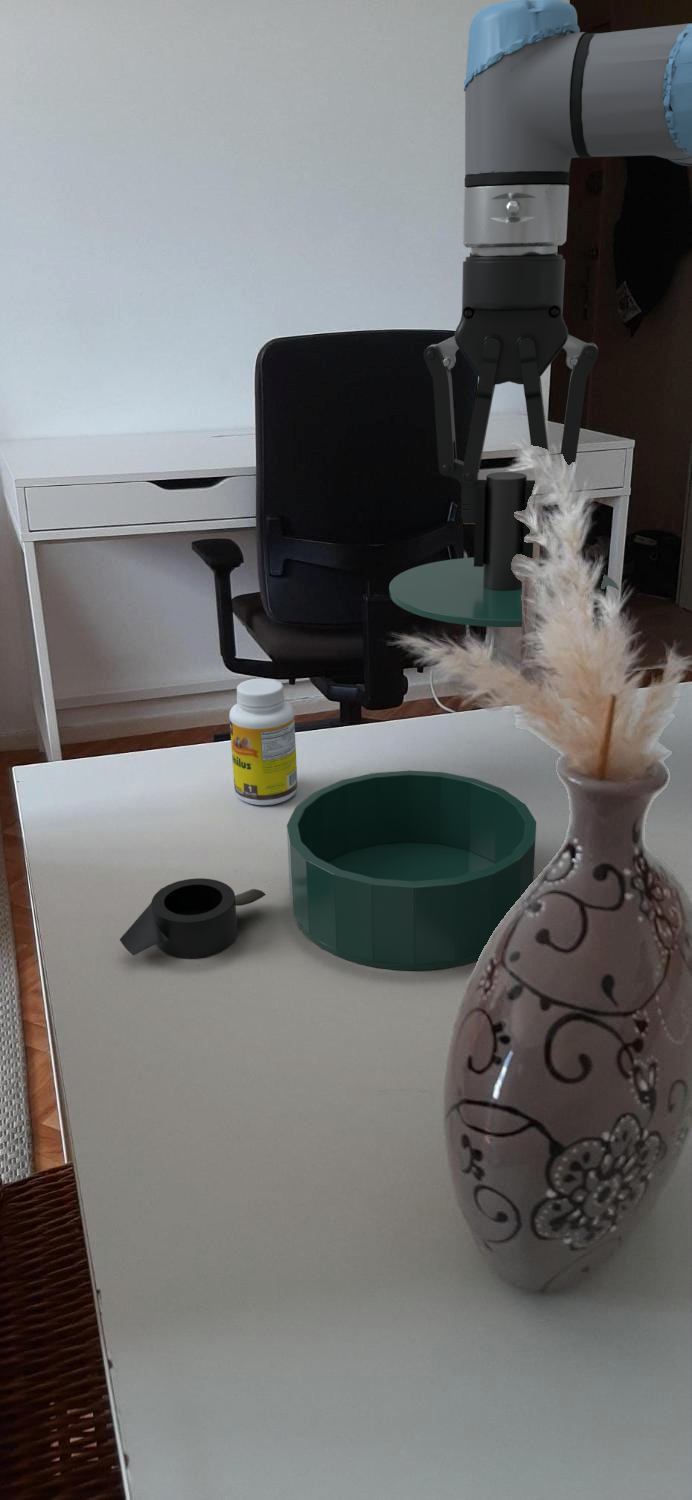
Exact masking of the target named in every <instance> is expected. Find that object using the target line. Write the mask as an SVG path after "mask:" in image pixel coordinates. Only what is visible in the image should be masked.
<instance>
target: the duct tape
mask: <svg viewBox="0 0 692 1500" xmlns="http://www.w3.org/2000/svg"><path fill="white" fill-rule="evenodd" d="M265 896H266V892H264V891H263V890H260V889H256V888H251V889H249V890H246V891H244V892H241V893H239V894H235V891H234V890H233V888H232V887H231V886H230V885H228V884H227V883H225V882H223V881H220V880H216V879H212V878H204V877H203V878H202V877H201V878H188V879H182V880H177V881H175V882H173V883H169V884H167V885H165V886H164V887H162V888H161V889H159V890H158V891H157V892H156V893H155V894H154V895H153V897H152V898H151V902H150V903H149V905H148V906H147V907H145V909H144V910H143V912H142V913H141V914H140V915H139V916H138V917H137V918H136V920H135V921H134V922H133V923H132V924H131V926H130V927H128V929H127V930H126V931H125V933H124V934H122V936H121V937H120V938H119V942H120V943H121V944H122V945H123V947H124V948H125V950H126V951H128V952H129V953H130V954H131V955H132V956H133V957H134V956H136V955H138V954H140V953H141V952H143V951H145V950H147V949H149V948H151V947H153V946H154V947H155V946H157V948H158V949H159V950H160V951H161V952H162V953H164V954H166V955H169V956H170V957H174V958H179V959H200V958H207V957H211V956H214V955H216V954H219V953H221V952H223V951H225V950H226V949H228V948H229V947H230V946H232V945H233V944H234V943H235V941H236V940H237V938H238V934H239V933H238V932H239V931H238V919H237V907H238V906H239V907H241V906H246V905H249V904H251V903H254V902H256V901H258V900H260V899H261V898H263V897H265Z"/></svg>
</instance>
